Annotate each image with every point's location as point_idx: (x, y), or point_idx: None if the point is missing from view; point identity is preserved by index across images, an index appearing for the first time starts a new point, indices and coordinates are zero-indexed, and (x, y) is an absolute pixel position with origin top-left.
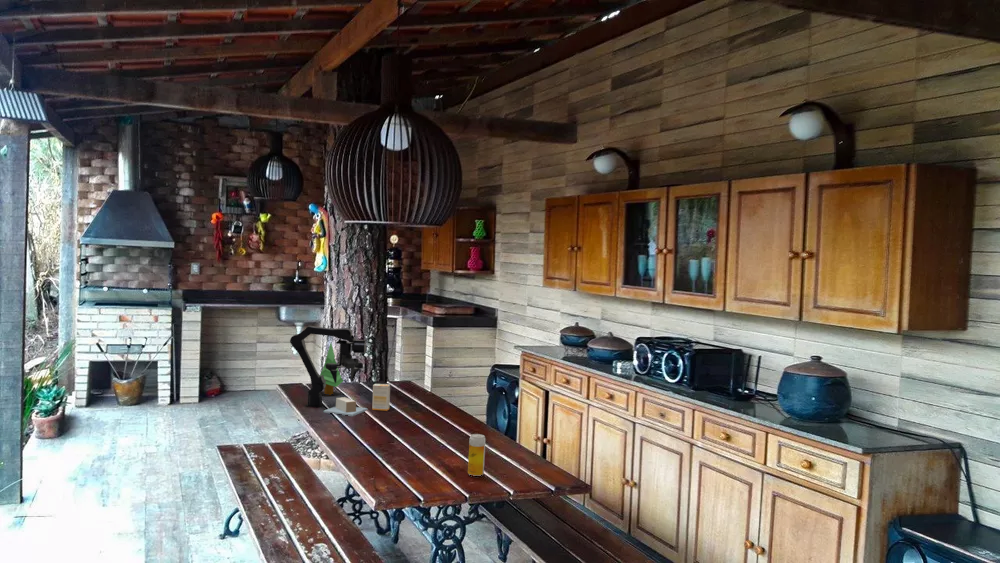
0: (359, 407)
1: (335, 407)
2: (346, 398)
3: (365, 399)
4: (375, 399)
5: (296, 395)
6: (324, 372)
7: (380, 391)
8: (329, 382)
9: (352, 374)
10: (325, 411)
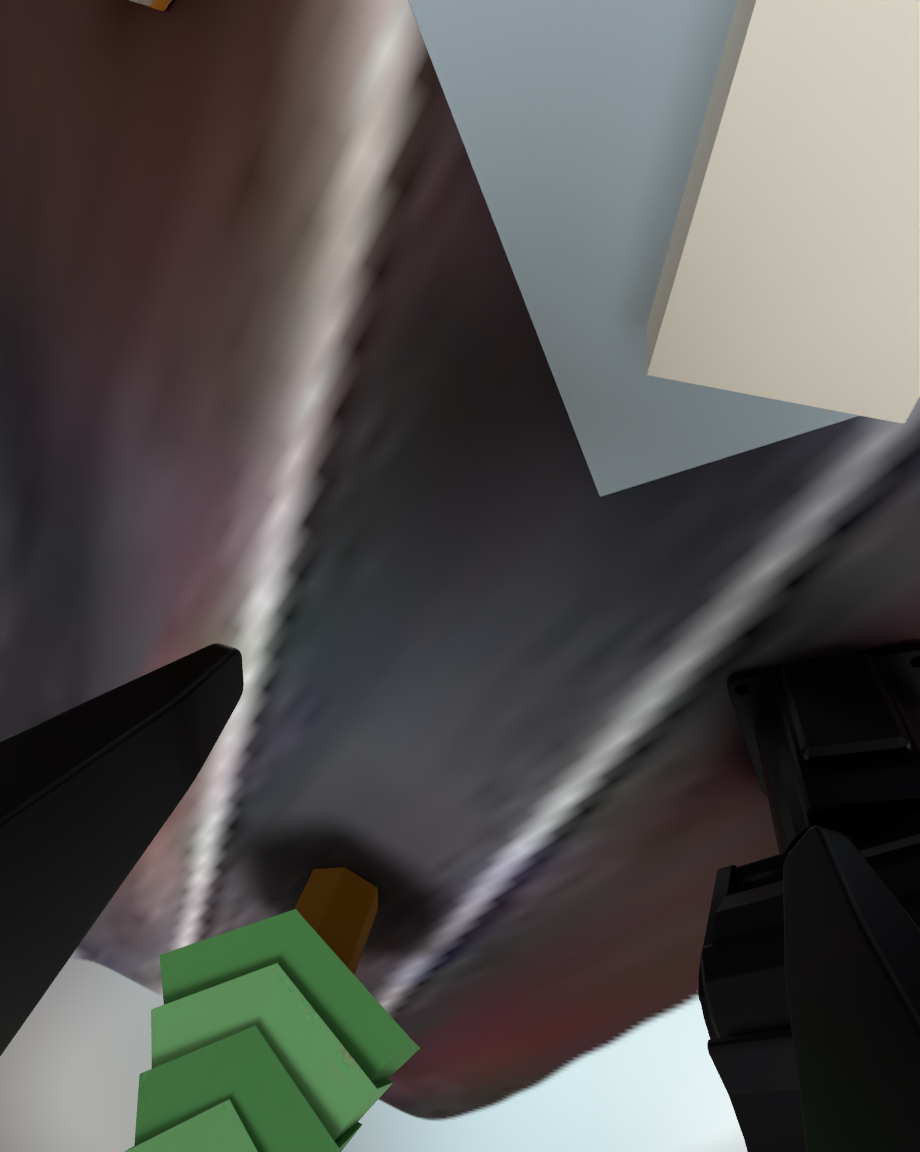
0: (458, 75)
1: None
2: (757, 193)
3: (116, 586)
4: None
5: (591, 1007)
6: None
7: None
8: (331, 1001)
9: (36, 874)
10: None
